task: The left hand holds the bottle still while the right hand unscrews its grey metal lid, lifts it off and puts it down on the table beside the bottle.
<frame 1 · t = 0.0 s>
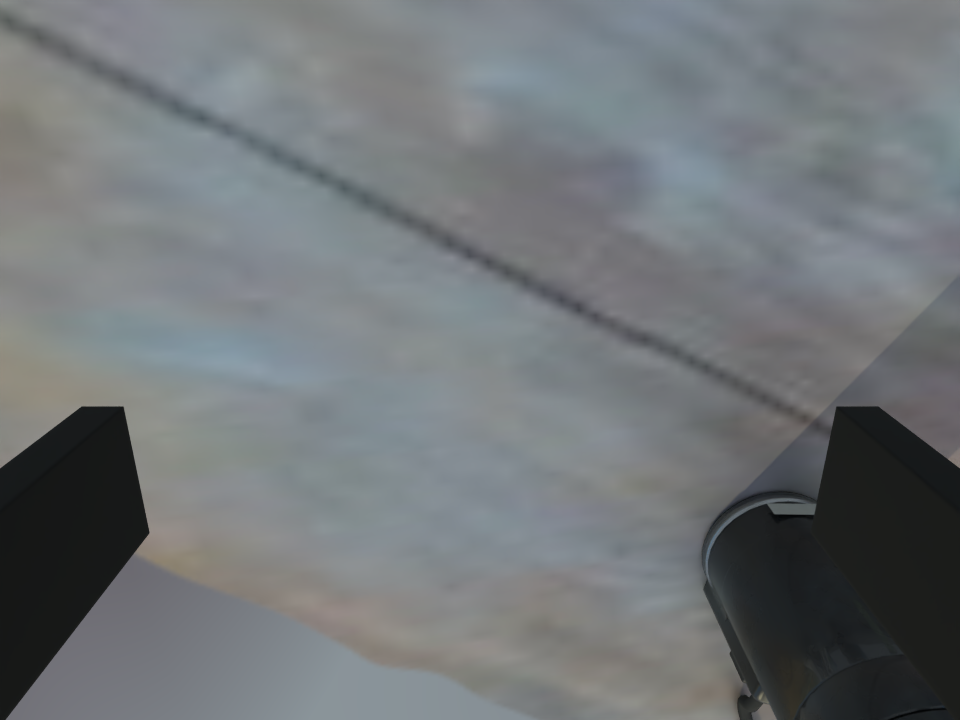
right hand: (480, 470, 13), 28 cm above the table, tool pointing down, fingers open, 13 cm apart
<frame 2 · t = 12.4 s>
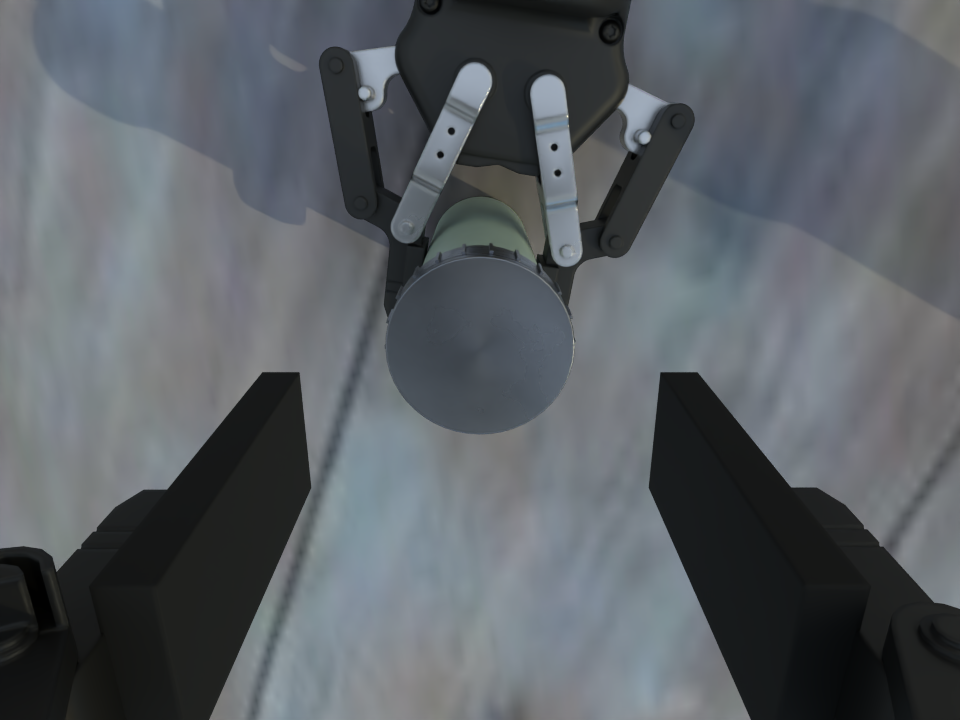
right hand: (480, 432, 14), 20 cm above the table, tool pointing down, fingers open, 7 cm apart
left hand: (471, 335, 28), fingers closed on bottle, 4 cm apart
bottle: (480, 244, 33), on the table, touching left hand
lid: (480, 345, 19), point 15 cm above the table, screwed on, not yet turned
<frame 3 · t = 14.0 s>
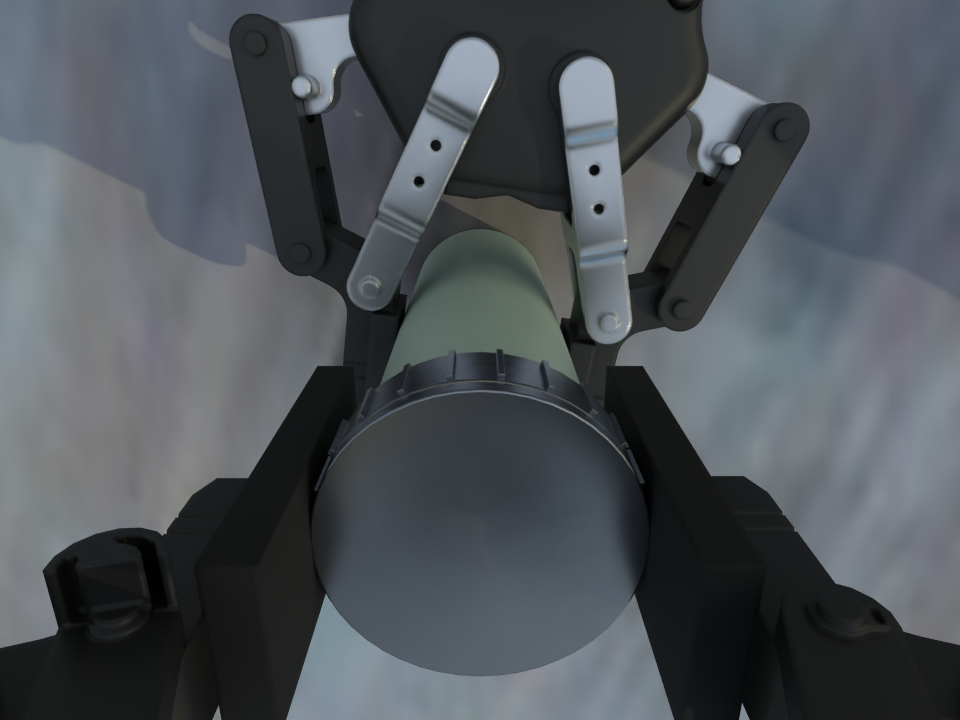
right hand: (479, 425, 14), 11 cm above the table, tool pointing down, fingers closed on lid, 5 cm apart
left hand: (467, 433, 20), fingers closed on bottle, 4 cm apart
bottle: (480, 291, 25), on the table, touching left hand
lid: (480, 533, 11), point 15 cm above the table, screwed on, not yet turned, touching right hand
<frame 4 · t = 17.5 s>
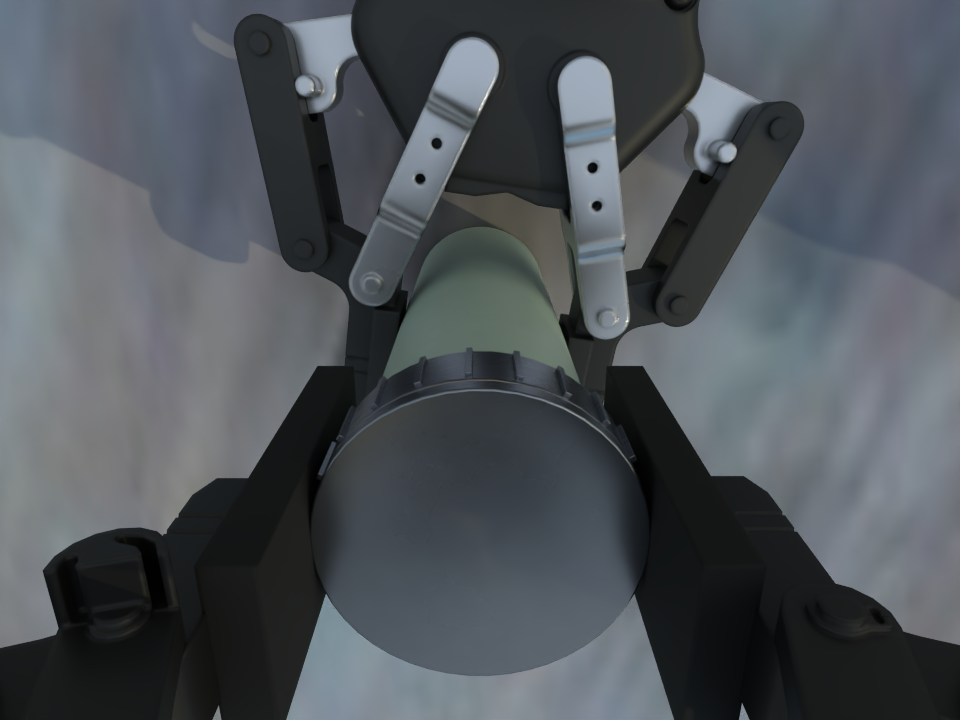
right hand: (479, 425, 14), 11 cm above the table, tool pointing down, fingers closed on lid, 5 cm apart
left hand: (468, 427, 20), fingers closed on bottle, 4 cm apart
bottle: (480, 288, 25), on the table, touching left hand
lid: (480, 532, 11), point 15 cm above the table, turned 109° so far, risen 0.3 cm, still on its thread, touching right hand
when the right hand's fingers open (0 cm above the table, at t = 24.4 s): lid drops 3 cm, point 1 cm above the table.
when the left hand's fingers open (6 cm above the table, at t = 25.0 s): bottle stays where it is, on the table.
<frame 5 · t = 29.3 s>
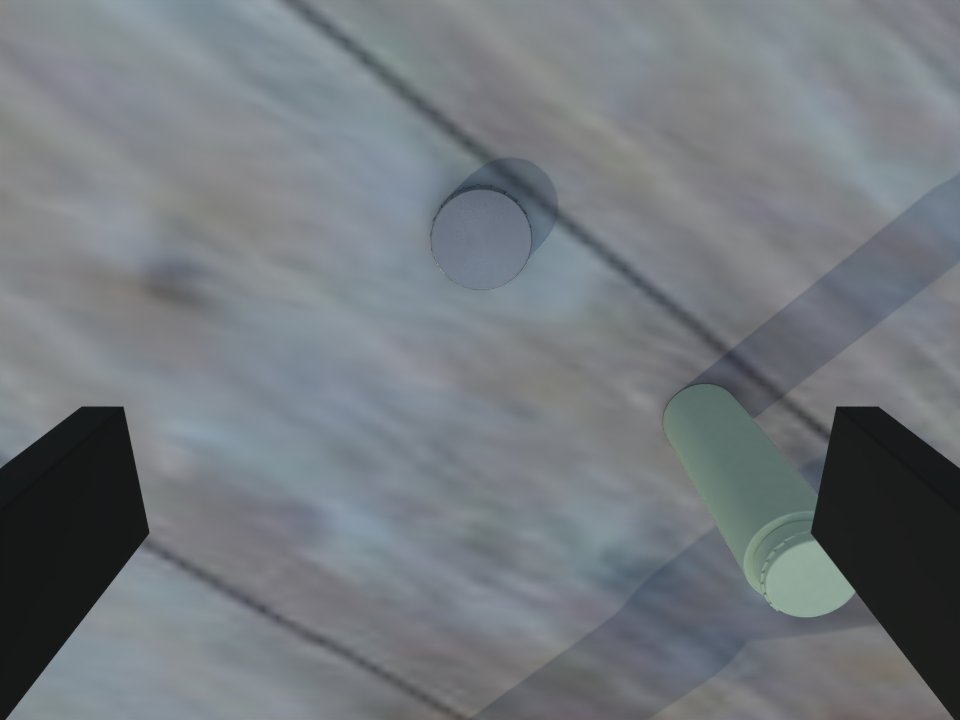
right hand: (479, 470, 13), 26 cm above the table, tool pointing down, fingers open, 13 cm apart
bottle: (700, 418, 41), on the table
lid: (481, 239, 36), point 1 cm above the table, off its thread
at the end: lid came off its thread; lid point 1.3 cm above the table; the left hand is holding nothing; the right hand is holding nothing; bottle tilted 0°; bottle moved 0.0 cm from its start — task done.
